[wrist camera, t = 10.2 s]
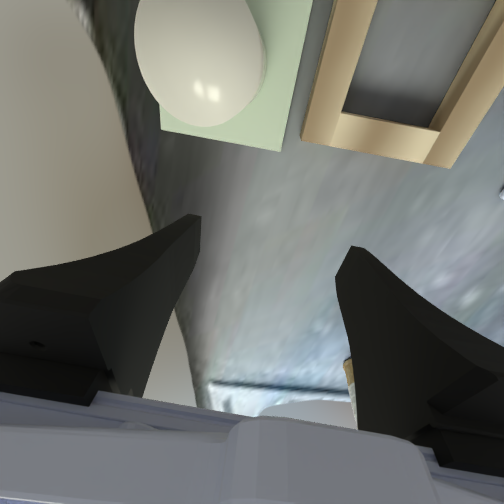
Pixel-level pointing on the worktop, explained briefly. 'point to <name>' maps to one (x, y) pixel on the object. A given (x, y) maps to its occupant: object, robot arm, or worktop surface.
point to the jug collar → (389, 132)
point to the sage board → (275, 84)
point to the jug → (200, 57)
